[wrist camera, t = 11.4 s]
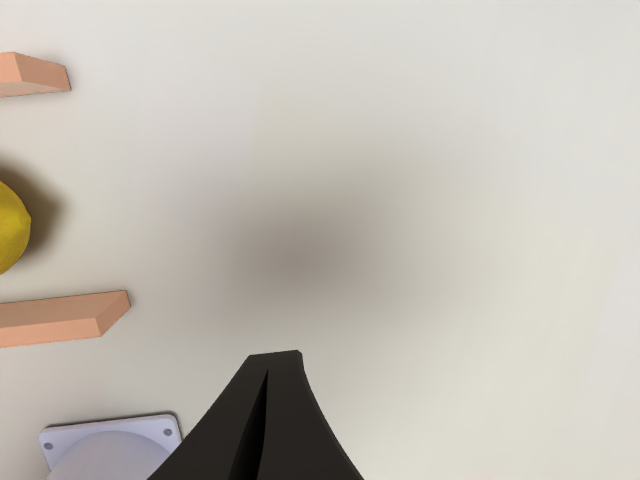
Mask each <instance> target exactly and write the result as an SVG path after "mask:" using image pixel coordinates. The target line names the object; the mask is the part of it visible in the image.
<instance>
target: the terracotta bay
mask: <svg viewBox="0 0 640 480" xmlns="http://www.w3.org/2000/svg"><path fill="white" fill-rule="evenodd" d="M69 90H71V88H70V84H69V81H68V77H67V74H66V70H65V66H61V65H58V64H54V63H51V62H47V61H44V60H40V59H37V58H33V57H30V56H26V55H22V54H19V53H15V52H7V53H0V97H8V96H18V95H28V94H38V93H49V92H59V91H69ZM129 308H130V303H129V300H128V296H127V292H126V290H124V291H115V292H106V293H97V294H87V295H78V296H69V297H59V298H50V299H41V300H32V301H22V302H13V303H4V304H0V348H5V347H14V346H23V345H32V344H41V343H50V342H60V341H69V340H78V339H87V338H96V337H101V336H102V335H103V334H104V333H105V332H106V331H107V330H108V329H109V328H110V327H111V326H112V325H113V324H114V323H115V322H116V321H117V320H118V319H119V318H120V317H121V316H122V315H123V314H124V313H125V312H126V311H127V310H128V309H129Z"/></svg>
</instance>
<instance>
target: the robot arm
mask: <svg viewBox="0 0 640 480" xmlns="http://www.w3.org/2000/svg"><path fill="white" fill-rule="evenodd" d="M167 429H170V430H171V431H169V430H167ZM38 441H39V444H40V446H41V449H42V451H43V454H44V456H45V459H46V461H47V464H48V466H49V469H50V471H51V473H50V474H49V476H48V477H47V478H46V480H364V479H363V477H362V476H361V474H360V473H359V472H358V470H357V469H356V467H355V466H354V465H353V463H352V462H351V460H350V459H349V457H348V456H347V454H346V453H345V451H344V450H343V448H342V446H341V445H340V443H339V442H338V440H337V438H336V437H335V435H334V433H333V432H332V430H331V428H330V426H329V424H328V423H327V421H326V419H325V417H324V415H323V413H322V411H321V409H320V407H319V405H318V403H317V401H316V399H315V397H314V394H313V392H312V390H311V388H310V385H309V383H308V380H307V377H306V374H305V371H304V365H303V358H302V353H301V352H299V351H298V350H291V351H283V352H274V353H265V354H256V355H249V356H248V358H247V359H246V360H245V361H244V363H243V364H242V366H241V367H240V368H239V370H238V371H237V373H236V374H235V375H234V377H233V378H232V380H231V381H230V382H229V384H228V385H227V386H226V388H225V389H224V390H223V392H222V393H221V394H220V396H219V397H218V398H217V400H216V401H215V402H214V403H213V405H212V406H211V407H210V409H209V410H208V411H207V412H206V414H205V415H204V416H203V417H202V419H201V420H200V421H199V422H198V423H197V425H196V426H195V427H194V428H193V429H192V430H191V432H190V433H189V434H188V435H187V436H186V437H185V439H184V440H183V441H182V440H181V436H180V432H179V428H178V424H177V421H176V418H175V417H174V416H172V415H170V414H164V415H156V416H147V417H138V418H129V419H121V420H112V421H103V422H94V423H86V424H77V425H68V426H59V427H51V428H45V429H43V430H42V431H41V432H40V433H39V435H38Z"/></svg>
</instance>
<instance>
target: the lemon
mask: <svg viewBox="0 0 640 480" xmlns="http://www.w3.org/2000/svg"><path fill="white" fill-rule="evenodd" d="M30 224H31V217H30V215H29V214H28V213H27V210H26V208H25V206H24V204H23V203H22V201H21V199H20V198H19V197H18V196H17V195H16V194H15V192H14V191H12V190H11V189H10V188H9V187H8V186H6V185H5V184H4V183H3V182H1V181H0V275H1V274H3V273H4V272H6V271H7V270H8V269H9V268H11V267H12V266H13V264H14V263H15V262H16V261H17V260H18V259H19V258H20V257H21V256H22V254H23V252H24V250H25V249H26V247H27V245H28V241H29V238H30Z"/></svg>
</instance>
